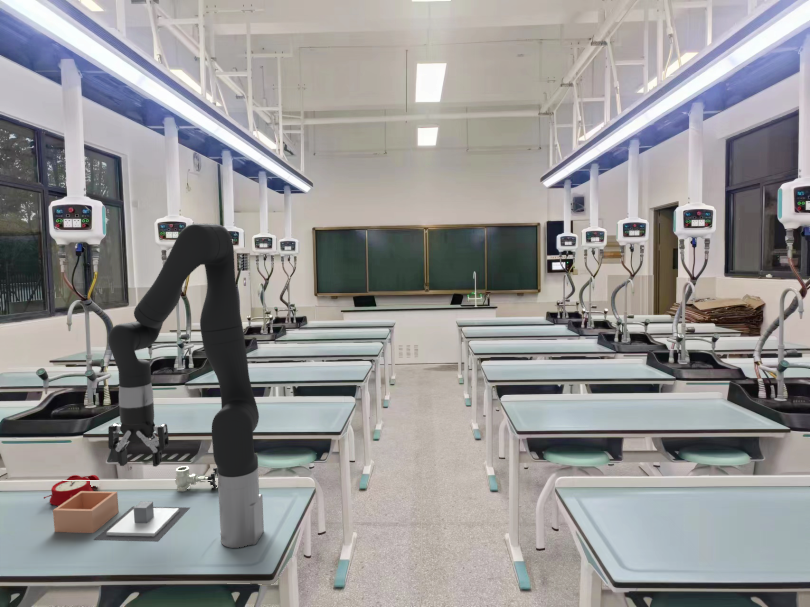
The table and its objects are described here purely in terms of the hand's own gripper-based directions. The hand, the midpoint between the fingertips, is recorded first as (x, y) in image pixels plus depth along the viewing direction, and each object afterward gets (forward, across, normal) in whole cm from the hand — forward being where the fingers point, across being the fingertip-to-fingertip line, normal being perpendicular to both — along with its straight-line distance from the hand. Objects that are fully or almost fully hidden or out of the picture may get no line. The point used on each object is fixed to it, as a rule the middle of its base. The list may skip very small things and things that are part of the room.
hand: (140, 465), depth 128 cm
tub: (+16, +15, 0) cm, 22 cm away
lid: (+15, 0, 0) cm, 15 cm away
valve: (+16, -5, -19) cm, 25 cm away
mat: (+16, 0, 0) cm, 16 cm away
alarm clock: (+16, +29, -15) cm, 37 cm away
